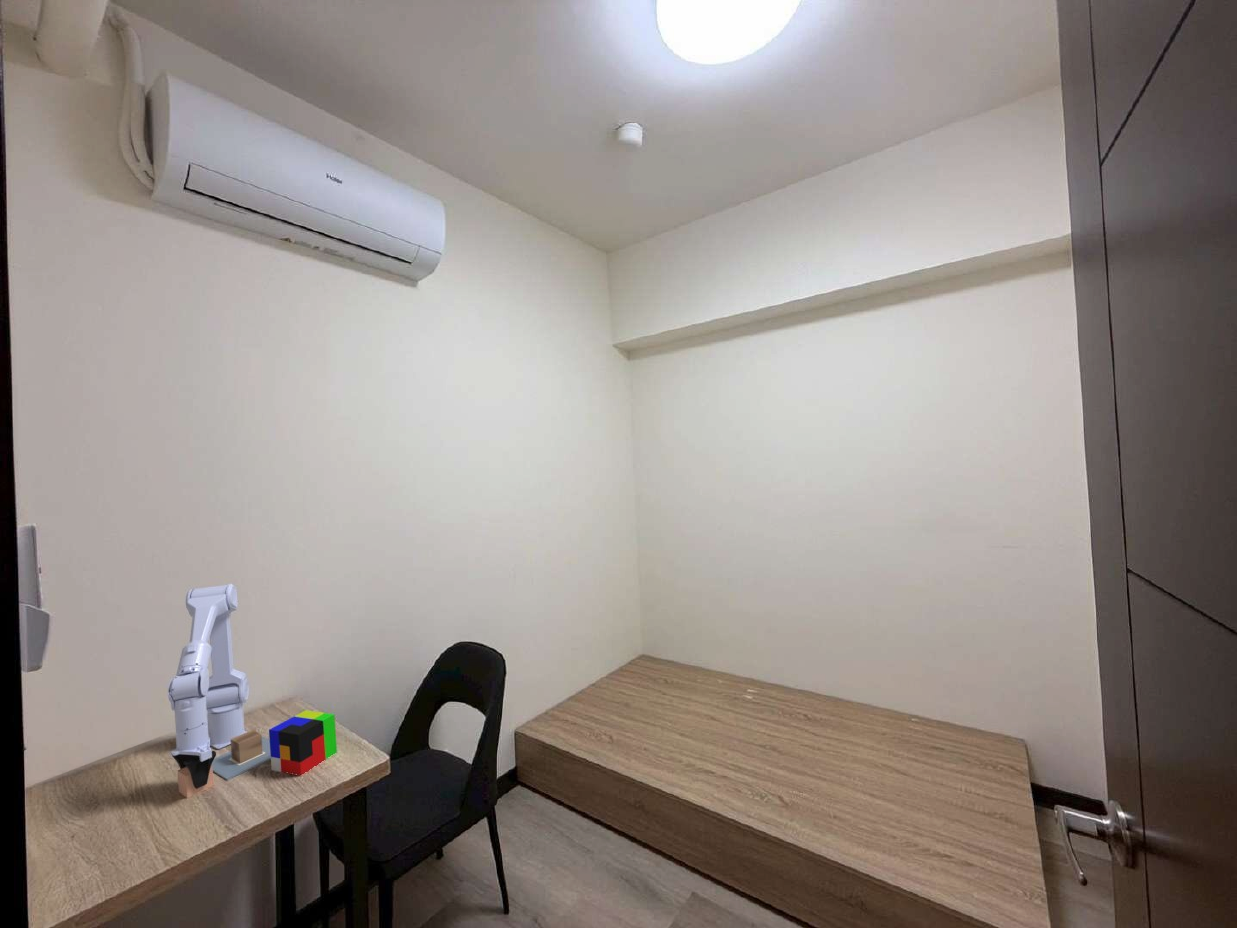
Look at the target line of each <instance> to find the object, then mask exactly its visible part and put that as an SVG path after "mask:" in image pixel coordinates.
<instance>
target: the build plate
mask: <svg viewBox="0 0 1237 928" xmlns="http://www.w3.org/2000/svg"><path fill="white" fill-rule="evenodd" d="M262 750H263V754H261V755H258V756H256V757H254V758H252V759H250V760H247V761H245V762H243V763H241V764H240V763H238V762H237V761H235V760H233V759H232V754H231V750H229V751H228V752H226V753H224V754H221V755H219V756H218V757H215V758H214V760H213V762H212V767H213V773H214V774H216V775H218V776H219V777H221V778H223V779H224V780H226V781H229V780H230V779H233V778H235V777H237V776H240V775H242V774H244V773H245V772H248V771H251V770H252V769H254V768H256V767H258V766H260V765H263V764H265V763H267V762H269V761H271V754H270V739H269V738H268V737H266V736H263V737H262Z"/></svg>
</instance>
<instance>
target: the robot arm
mask: <svg viewBox="0 0 1237 928" xmlns="http://www.w3.org/2000/svg"><path fill="white" fill-rule="evenodd" d="M238 602H239V601H238V591H237V587H236V586H235V585H234V584H233V583H229V584H224V585H216V586H215V585H213V586H207V587H206V586H205V587H199V588H191V589H189V591H188V592H187V593H186V595H185V606H186V607H185V608H186V610H187V611H188V614H189V616H190V617H192V619H191V620H192V621H191V628H190V637H189V643H188V644H187V645H185V646H184V647H183V648H182V649H181V653H180V657H179V662H178V667H177V671H176V674H175V677H172V678H171V679H170V681H169V684H168V687H167V697H168V701H169V702H170V707H171V710H172V711H174V721H175V722H174V723H175V734H176V736H175V737H176V738H175V744H176V748H175V749H172V750H171V751H170V755H171V756H172V758H173V759H174V760H175V761H176V763H177V765H178V767H179V770H180V769H182V768H185V767H187V768H188V769H189V771H190V774H191V777H192V781H193V785H194V787H195V788H196V789H198V788H200V787H202V786H204V785H206V784H207V781H208V777H209V772H210V768H211V765H212V762H213V760H214V758H217V757H216V756H217V752H216V751H215V750H212V748H215V749H216V750H221V749H223V748H225V747H227V746H229V745H230V746H231V740H230V739H232V738H234V737H237V736H239V735H242V734H244V733H246V732H248V731H247V730H245V717H244V716H245V715H244V704H245V703H246V702H247V700H248V699H249V697H250V685H249V681H248V675H247V673H246V672H243V671H241V670H238V669H235V668H234V667H235V666H234V664H235V663H234V652H233V640H232V639H233V638H232V623H231V622H232V621H231V614H232V612H234V611H237V610H238V607H239V604H238ZM208 642H209V643H208ZM210 659H211V660H210ZM210 661H211V670H212V672H211V673H212V674H211V676H210V670H209V666H210V665H209V664H210ZM211 747H212V748H211Z"/></svg>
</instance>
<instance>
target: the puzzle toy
mask: <svg viewBox="0 0 1237 928" xmlns="http://www.w3.org/2000/svg"><path fill="white" fill-rule="evenodd" d="M335 718H336V716H335V714H334V713H326V712H321V711H313V710H304V711H302V712H300V713H298V714H296V715H294V716H292V717H291V718H289V719H287V720H285V721H283V722H280V723H279V724H277V725H275V726H273V727H272V728H269V729H268V735H269V738H268V739H270V754H271V760H270V765H271V771H274V772H279V773H280V772H281V773H284V772H288V773H287V774H289V773H293V774H292V775H294V774H297V775H296V776H298V775H302V774H304V773H305V772H307V773H308V772H310V771H311V770H313V769H314V768H313V767H314V766H316V767H317V765H318V764H319V763H321V762H322V761H324V760H325V761H327V760H328V759H329V758H328V757H330V756H331V755H333V754H335V753H336V754H338V749H337V748H338V746H337V745H338V744H337V731H336V719H335ZM336 754H335V755H336ZM333 756H334V755H333ZM327 758H328V759H327ZM330 758H331V757H330ZM326 759H327V760H326ZM325 761H324V762H325ZM322 763H323V762H322ZM322 763H321V764H322ZM319 765H320V764H319ZM319 765H318V766H319ZM312 768H313V769H312ZM310 769H311V770H310ZM309 770H310V771H309ZM305 774H306V773H305ZM305 774H304V775H305ZM302 776H303V775H302Z"/></svg>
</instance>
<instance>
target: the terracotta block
mask: <svg viewBox="0 0 1237 928" xmlns="http://www.w3.org/2000/svg"><path fill="white" fill-rule="evenodd" d="M177 780H178V781H177V785H178V793H180V795H182V796H183V797H185V798H186V799H189V798H191V797H194V796H196V795H197V794H199V793H202V792H204V791H205V790H208V789H211V788H212V787H214V786H215V785H214V784H215V783H214V782H215V781H214V772H213V767H212V765H211V768H210V772H209V777H208V781H207V784H206V785H204V786H202V787H200V788H198V789H196V788H195V787H194V785H193V781H192V777H191V774H190V771H189V769H188V768H187V767H185V768H182V769H180V768H179V769H178V770H177Z"/></svg>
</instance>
